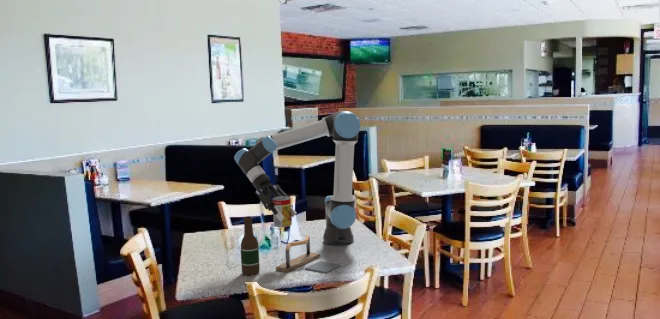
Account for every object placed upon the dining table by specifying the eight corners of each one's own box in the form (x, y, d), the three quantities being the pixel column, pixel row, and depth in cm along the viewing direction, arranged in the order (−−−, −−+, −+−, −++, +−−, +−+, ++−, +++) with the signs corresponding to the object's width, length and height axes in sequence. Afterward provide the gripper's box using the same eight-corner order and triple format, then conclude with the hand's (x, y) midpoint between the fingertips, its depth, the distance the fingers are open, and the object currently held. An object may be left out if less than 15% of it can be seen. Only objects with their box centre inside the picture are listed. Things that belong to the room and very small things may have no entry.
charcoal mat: (320, 262, 250) (319, 260, 250) (341, 265, 244) (341, 264, 244) (305, 269, 241) (305, 268, 241) (326, 273, 235) (326, 272, 235)
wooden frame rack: (309, 255, 261) (308, 234, 260) (320, 256, 258) (319, 236, 256) (276, 270, 241) (274, 247, 240) (287, 272, 238) (286, 249, 237)
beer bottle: (263, 270, 241) (260, 215, 238) (255, 276, 234) (252, 219, 231) (246, 269, 244) (243, 214, 240) (238, 275, 236) (234, 218, 233)
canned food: (294, 223, 253) (293, 196, 251) (286, 227, 246) (285, 200, 244) (279, 222, 256) (278, 195, 255) (270, 226, 249) (269, 199, 248)
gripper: (269, 180, 266) (298, 217, 259) (238, 187, 249) (268, 227, 242) (277, 169, 262) (307, 207, 255) (247, 176, 245) (277, 216, 238)
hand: (288, 217), depth 249 cm, fingers closed on canned food, 8 cm apart
